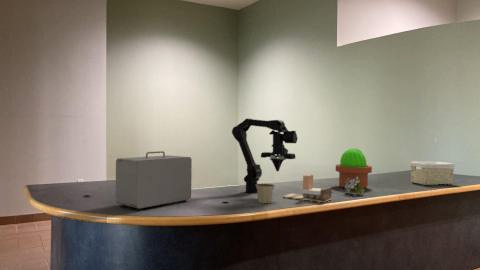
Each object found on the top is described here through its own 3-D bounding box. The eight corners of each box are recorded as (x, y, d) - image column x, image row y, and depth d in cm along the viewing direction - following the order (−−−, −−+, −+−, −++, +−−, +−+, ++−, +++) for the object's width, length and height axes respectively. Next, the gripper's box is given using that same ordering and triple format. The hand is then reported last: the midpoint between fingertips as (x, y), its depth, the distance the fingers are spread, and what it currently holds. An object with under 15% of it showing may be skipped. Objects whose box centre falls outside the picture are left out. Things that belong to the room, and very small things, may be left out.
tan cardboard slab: (282, 197, 197) (282, 185, 197) (291, 195, 205) (291, 183, 205) (324, 203, 184) (324, 189, 184) (331, 200, 193) (331, 187, 192)
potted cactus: (334, 188, 230) (335, 148, 229) (336, 183, 251) (336, 146, 250) (372, 190, 223) (373, 149, 223) (370, 185, 244) (371, 147, 244)
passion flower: (347, 203, 211) (339, 184, 218) (365, 199, 213) (356, 181, 219) (353, 195, 202) (345, 175, 208) (371, 191, 204) (362, 172, 210)
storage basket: (438, 181, 267) (438, 161, 267) (455, 185, 252) (456, 163, 251) (408, 182, 262) (409, 161, 262) (424, 185, 246) (425, 163, 246)
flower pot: (274, 204, 179) (275, 186, 179) (255, 204, 180) (255, 186, 180) (274, 200, 189) (274, 183, 189) (255, 200, 189) (255, 183, 189)
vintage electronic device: (167, 196, 196) (167, 149, 196) (191, 201, 185) (191, 151, 184) (113, 206, 172) (113, 151, 171) (136, 212, 160) (137, 153, 160)
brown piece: (302, 197, 192) (302, 175, 192) (308, 195, 199) (308, 174, 198) (320, 199, 186) (320, 177, 186) (326, 197, 193) (326, 175, 193)
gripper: (299, 143, 206) (299, 171, 207) (270, 142, 217) (269, 168, 217) (290, 143, 197) (290, 173, 197) (260, 142, 207) (260, 170, 208)
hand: (277, 171), depth 205 cm, fingers closed
